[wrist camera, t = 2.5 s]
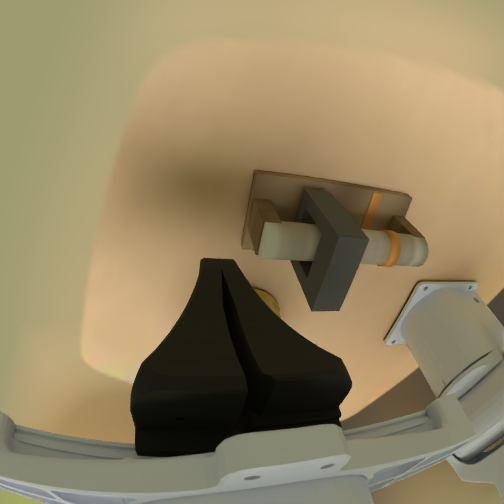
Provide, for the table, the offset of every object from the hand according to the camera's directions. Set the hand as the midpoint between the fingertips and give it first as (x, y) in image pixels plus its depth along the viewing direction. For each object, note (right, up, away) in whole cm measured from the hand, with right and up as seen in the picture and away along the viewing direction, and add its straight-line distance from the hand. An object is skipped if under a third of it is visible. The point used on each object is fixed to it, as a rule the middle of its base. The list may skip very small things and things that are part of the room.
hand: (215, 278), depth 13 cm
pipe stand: (+7, +3, +7) cm, 10 cm away
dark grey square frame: (+5, +3, +6) cm, 8 cm away
